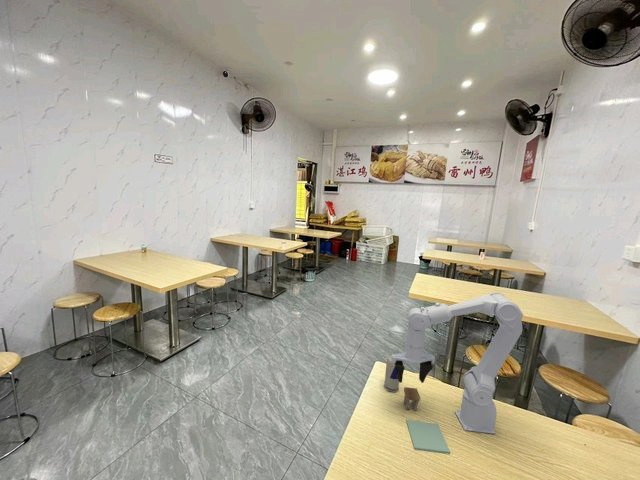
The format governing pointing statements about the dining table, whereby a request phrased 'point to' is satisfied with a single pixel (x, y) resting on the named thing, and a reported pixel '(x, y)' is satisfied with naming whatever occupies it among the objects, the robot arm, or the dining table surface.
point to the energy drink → (391, 376)
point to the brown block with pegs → (411, 397)
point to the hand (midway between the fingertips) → (410, 380)
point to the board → (427, 437)
